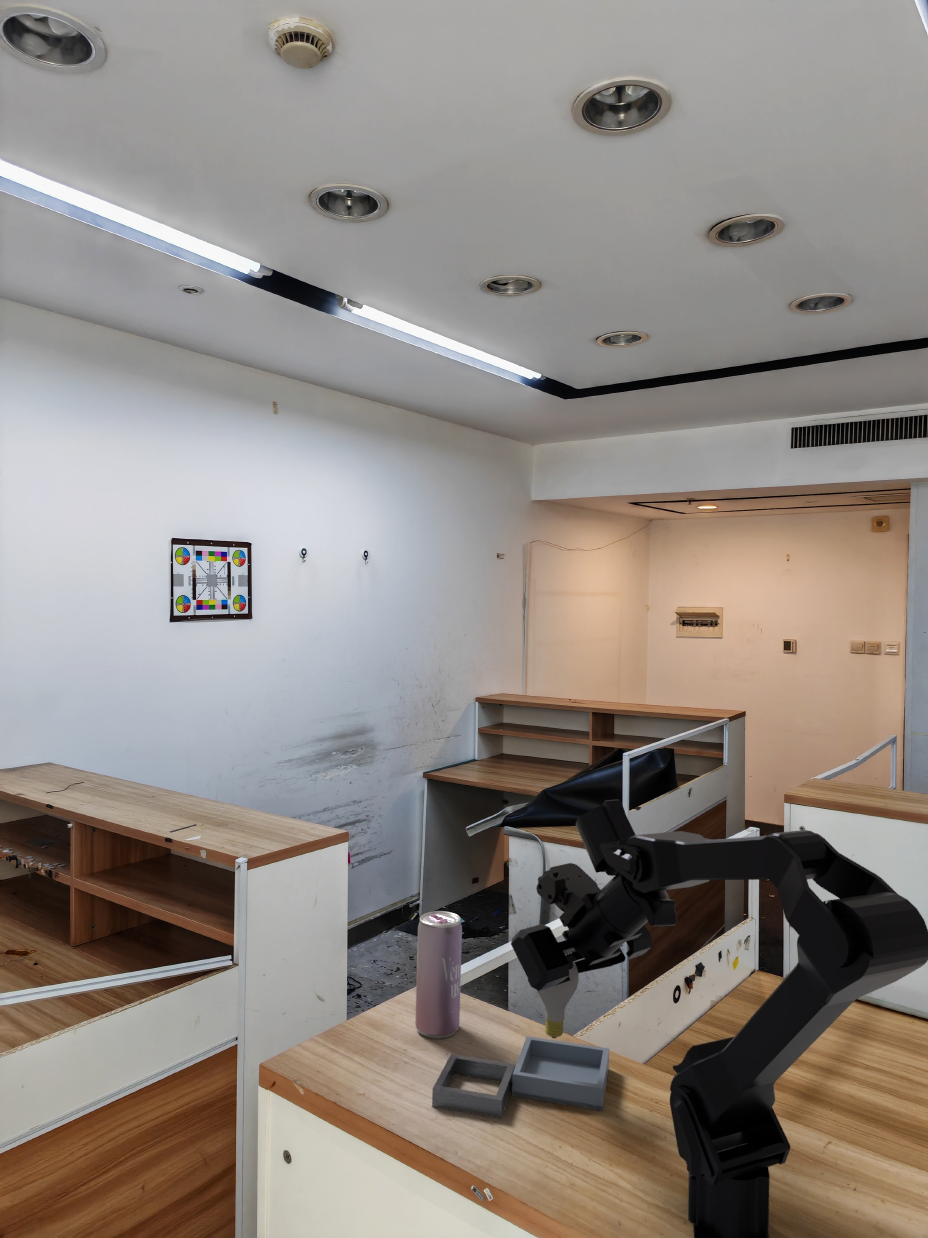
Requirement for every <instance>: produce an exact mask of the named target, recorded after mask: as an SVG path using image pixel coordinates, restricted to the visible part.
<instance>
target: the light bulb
mask: <svg viewBox="0 0 928 1238" xmlns="http://www.w3.org/2000/svg"><path fill="white" fill-rule="evenodd" d="M565 955H567V954H565ZM579 974H580V973H578V970H577V967H576V964H575V962H573V968H572V969H571V970H570V971H569V978H570V981H568V982H565V983H562V984H559V985H556V986H552V987H549V988H546V989H543V990H541V991H538V990H536V991H537V994H538V995H539V997H540V999H541V1001H542V1004H543V1005H544V1010H545V1013H544V1016H545V1017H544V1018H545V1030H544V1032H545V1034H546V1035H547V1036H549V1037H551V1038H552V1039H557V1038H559V1037H562V1035H563V1034H564V1020H565V1011H566V1007H567V1005H568V1004H569V1002H570V1000H571V999H572V997H573V995H574V994H575V992H576V990H577V988H578V986H579V985H578V984H579V980H580V979H579V978H580V977H579Z"/></svg>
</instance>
